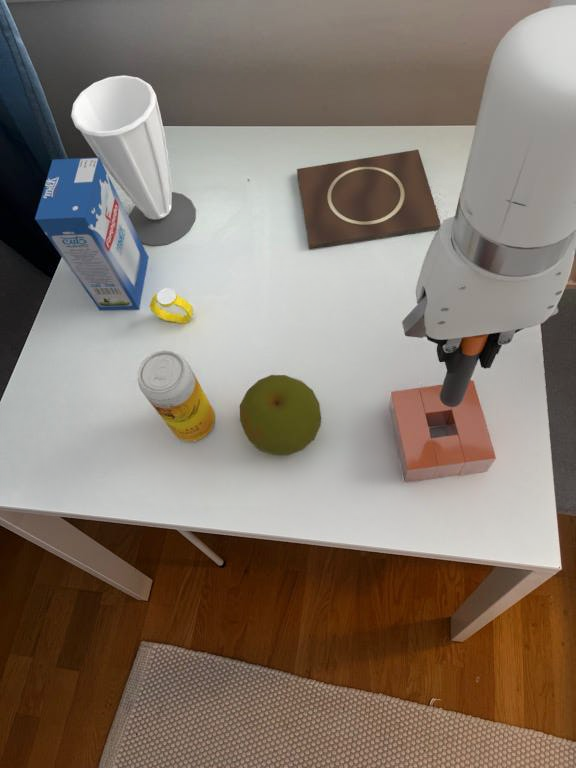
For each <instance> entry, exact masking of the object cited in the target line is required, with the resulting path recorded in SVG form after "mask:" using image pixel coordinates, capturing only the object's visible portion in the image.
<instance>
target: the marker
mask: <svg viewBox="0 0 576 768" xmlns="http://www.w3.org/2000/svg"><path fill="white" fill-rule="evenodd" d="M488 335H489V334H484V335H477V336H470V337H463V338H462V340H461V342H460V345H461V348H462V356H461V359H460V362H459V365H458V368H457V370H456V371H455V372H454V373H451V374H448V372H447V371H446V372H445V375H444V379H443V383H442V385H443V386H442V389H441V392H440V400H441V402H442V403H443V404H444V405H446V406H449V407H456V406H458V405H459V404H461V402H462V400H463V398H464V395H465V392H466V390H467V387H468V385H469V382H470V380H472V377H473V374H474V372H475V369H476V366H477V364H478V362H479V357H480V354H481V352H482V350H483V348H484V345H485V343H486V340H487V338H488Z"/></svg>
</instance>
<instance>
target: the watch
mask: <svg viewBox="0 0 576 768" xmlns="http://www.w3.org/2000/svg"><path fill="white" fill-rule="evenodd" d="M173 305H174V306H176V307H178V308H180V309H182V310H183V311H184V312H185V313H186V314H180V313H174V312H169V311H167V310H165V309H163V308H169V307H172V306H173ZM160 306H161V307H163V308H161V307H160ZM149 308H150V311H151V312H152V313H153V314H154V315H155V316H156V317H158V318H159V319H161V320H163V321H165V322H172V323H176V324H182V325H184V324H187V323H189V322H190V321H191V319H192V316H193V313H194V308H193V306H192V304H191V303H190V302H189V301H187V300H186V299H185V298H184V297H182V296H179V295H177V292H176V291H175V290H174V289H173V288H170V287H165V288H162V289H160V290H159V291H158V292H157V293H155V294H154V295H153V296H152V298H151V300H150V303H149Z"/></svg>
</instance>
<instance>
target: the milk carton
mask: <svg viewBox="0 0 576 768" xmlns="http://www.w3.org/2000/svg"><path fill="white" fill-rule="evenodd" d="M128 216H129V215H128V213H127V211H126V208H125V206H124V205H123V203H122V201H121V199H120V196H119V195H118V192H117V190H116V188H115V186H114V184H113V183H112V181H111V179H110V177H109V174H108V171H107V169H106V168H105V166H104V165H103V164H102V162H101V160H100V158H99V157H97V156H95V157H78V158H59V159H58V158H57V159H52V161H51V164H50V167H49V170H48V173H47V177H46V180H45V184H44V186H43V190H42V193H41V197H40V201H39V203H38V207H37V210H36V214H35V217H34V220H35V221H36V223H37V224H38V225H39V227H40V228H41V230H42V231H43V233H44V234H45V235H46V237H47V238H48V240H49V241H50V242H51V244H52V245H53V246H54V248H55V250H56V251H57V252H58V254H59V255H60V257H61V258H62V259H63V261H64V262H65V263H66V265H67V267H68V268H69V269H70V271H71V272H72V273H73V275H74V277H75V278H76V279H77V281H78V283H80V285H81V286H82V288H83V289H84V291H85V292H86V294H87V295H88V296H89V298H90V299H91V300H92V303H94V305H95V306H96V308H97V309H98V311H134V310H135V311H136V310H140V308H141V302H142V297H143V291H144V286H145V280H146V274H147V268H148V264H149V254H148V253H147V251H146V249H145V247H144V244H142V243H141V241H140V239H139V237H138V235H137V233H136V231H135V229H134V227H133V225H132V223H131V221H130V219H129V217H128Z"/></svg>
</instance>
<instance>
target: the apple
mask: <svg viewBox="0 0 576 768" xmlns="http://www.w3.org/2000/svg"><path fill="white" fill-rule="evenodd" d="M238 407H239V422H240V424H241V427H242V429H243V433H244V435H245V437H246V438H247V441H249V442H250V443H251V444H252V445H253V447H255V448H256V449H257V450H258V451H260V452H263V453H266V454H269V455H272V456H291V455H292V454H295V453H298V452H300V451H303V450H304V449H305V448H306V447H308V446H309V445H310V444H311V443H313V441H315V439H316V436H317V435H318V432H319V430H320V428H321V424H322V415H321V405H320V402H319V400H318V398H317V395H316V393H315V392H314V390H313V389H312V388H311V387H309V385H308V384H306V383H305V382H304V381H302V380H300V379H297V378H294V377H291V376H288V375H285V374H270V375H268V376H266V377H263V378H261V379H258V380H257V381H256V382H255V383H254V384H253V385H251V386H250V387H249V388H248V389H247V391H246V392H245V394H244V396H243V398H242V400H241V402H240V404H239V406H238Z"/></svg>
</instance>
